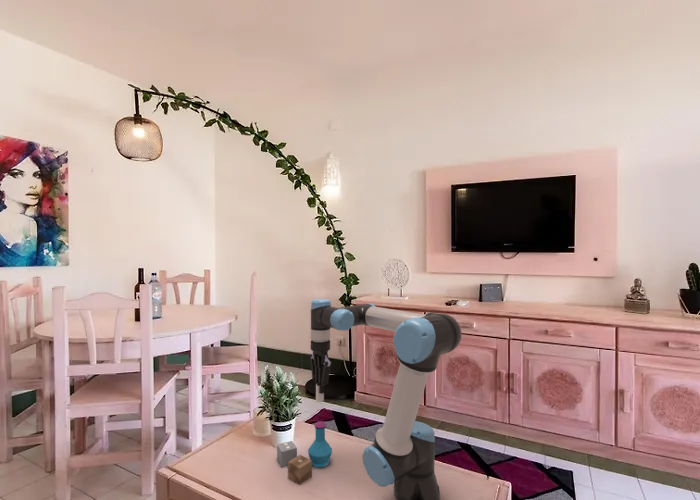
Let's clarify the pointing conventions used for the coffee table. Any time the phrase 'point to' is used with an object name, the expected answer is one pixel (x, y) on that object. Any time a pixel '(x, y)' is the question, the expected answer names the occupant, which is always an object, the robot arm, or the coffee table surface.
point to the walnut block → (300, 469)
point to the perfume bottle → (320, 447)
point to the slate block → (286, 453)
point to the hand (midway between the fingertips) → (319, 400)
